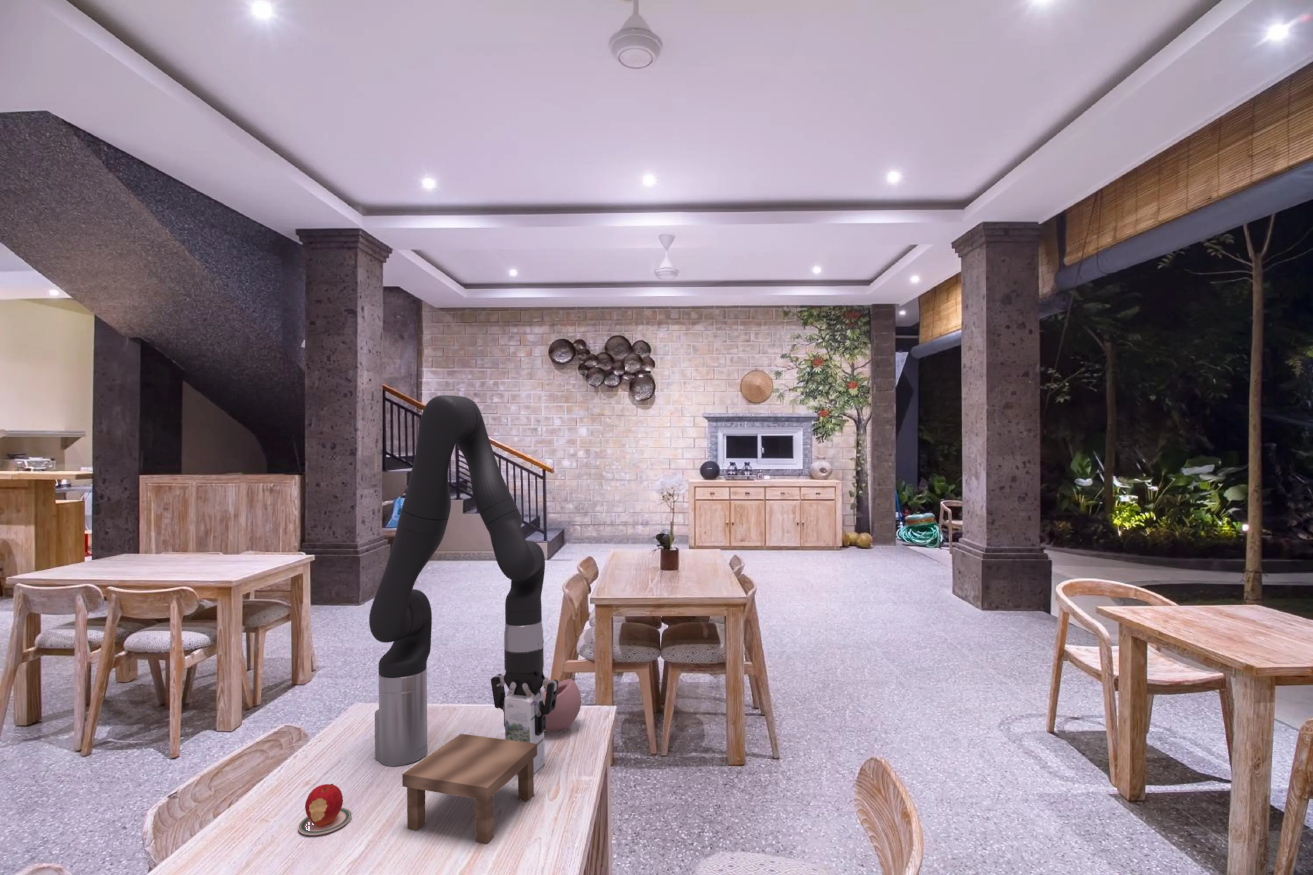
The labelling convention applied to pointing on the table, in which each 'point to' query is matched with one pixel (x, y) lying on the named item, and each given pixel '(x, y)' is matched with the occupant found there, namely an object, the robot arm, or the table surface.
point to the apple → (324, 811)
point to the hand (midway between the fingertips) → (525, 731)
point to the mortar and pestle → (564, 706)
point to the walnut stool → (470, 777)
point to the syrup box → (523, 725)
